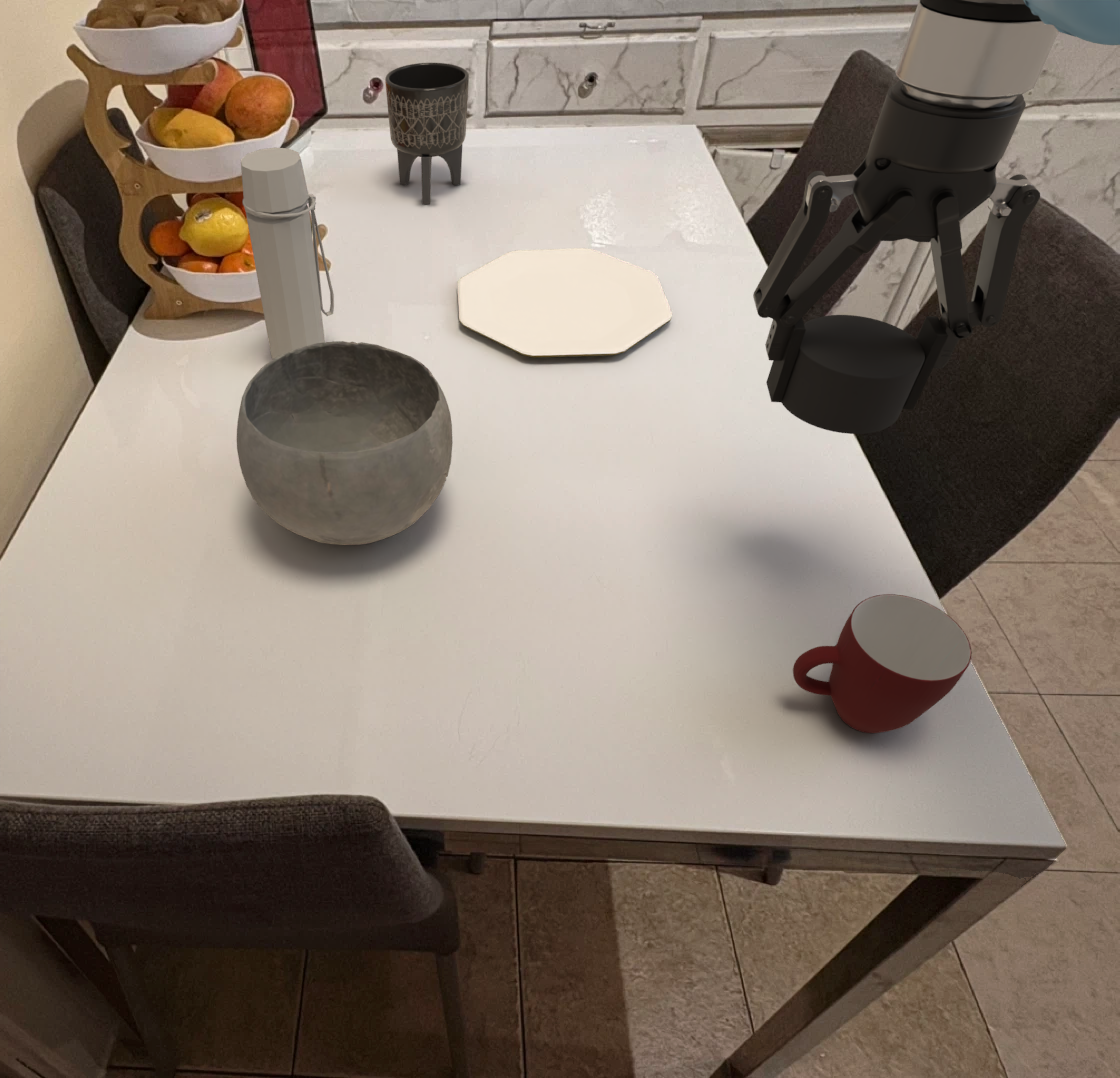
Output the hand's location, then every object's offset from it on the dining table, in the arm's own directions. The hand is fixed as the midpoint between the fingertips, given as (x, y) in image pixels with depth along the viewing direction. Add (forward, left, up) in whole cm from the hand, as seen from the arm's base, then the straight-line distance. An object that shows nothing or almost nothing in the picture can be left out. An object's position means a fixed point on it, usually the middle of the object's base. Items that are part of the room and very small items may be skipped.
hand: (838, 395), depth 67 cm
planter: (+79, -48, -19) cm, 94 cm away
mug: (-11, +13, -19) cm, 26 cm away
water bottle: (+61, +1, -19) cm, 64 cm away
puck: (0, 0, 0) cm, 0 cm away
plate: (+41, -28, -19) cm, 53 cm away
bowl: (+37, +19, -19) cm, 46 cm away
